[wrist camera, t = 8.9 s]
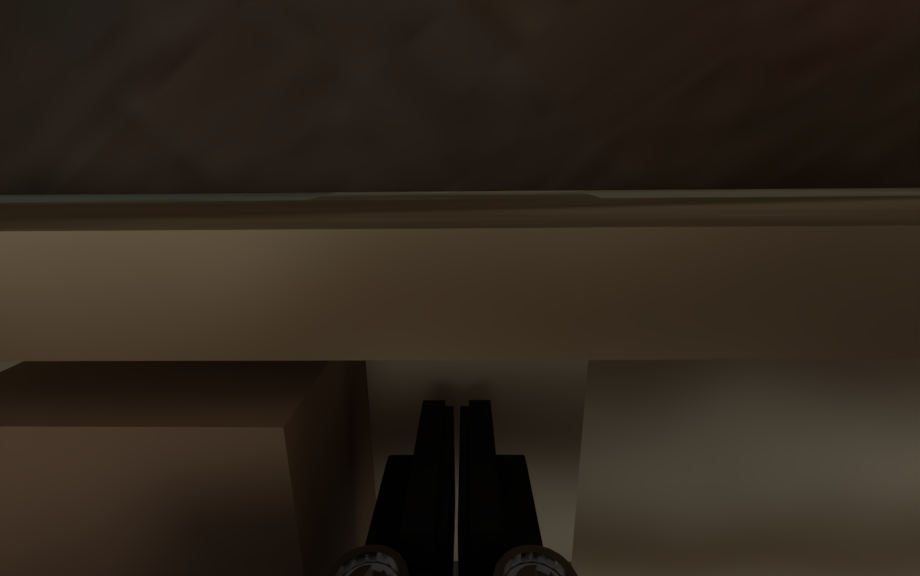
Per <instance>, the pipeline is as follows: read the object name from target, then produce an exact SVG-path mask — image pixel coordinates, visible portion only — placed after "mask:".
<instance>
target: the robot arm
mask: <svg viewBox="0 0 920 576" xmlns="http://www.w3.org/2000/svg"><path fill="white" fill-rule="evenodd" d="M454 535H455V453H454V407H453V406H445V400H423V403H422V409H421V414H420V420H419V426H418V431H417V437H416V443H415V448H414V454H413V455H389V456H388V459H387V462H386V466H385V470H384V474H383V477H382V481H381V485H380V489H379V493H378V497H377V500H376V504H375V508H374V512H373V516H372V520H371V523H370V527H369V531H368V535H367V539H366V543H365V546H361V547H358V548H355V549H353V550H351V551H349V552H347V553H345V554H343V555H342V556H341V557H340V558H339V559H338V560H337V561H336V562H334V563H333V564H332V566H331V567H330V569H329V570H328V572H327V573H326V575H325V576H453V569H454ZM458 576H578V575H577V573H576V572H575V570H574V569H573V567H572V565H571V564H570V563H569V562H568V561H567V560H566V559H565V558H564V557H563V556H562V555H560V554H559V553H557V552H555V551H553V550H551V549H550V548H546V547H543V543H542V538H541V533H540V528H539V523H538V518H537V513H536V508H535V503H534V498H533V493H532V488H531V483H530V478H529V473H528V468H527V463H526V458H525V456H524V455H496V449H495V439H494V429H493V419H492V410H491V401H490V400H469V406H460V441H459V486H458Z"/></svg>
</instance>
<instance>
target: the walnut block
mask: <svg viewBox="0 0 920 576" xmlns="http://www.w3.org/2000/svg"><path fill="white" fill-rule="evenodd" d="M375 504H376V493H375V480H374V466H373V453H372V440H371V426H370V413H369V399H368V386H367V373H366V360H320V361H23V362H21V363H19V364H16V365H14V366H12V367H10V368H8V369H6V370H3V371H1V372H0V576H325V575H326V573H327V572H328V570H329V569H330V567H331V566H332V564H333V563H334V562H336V561H337V560H338V559H339V558H340V557H341V556H342V555H343V554H345V553H347V552H349V551H351V550H353V549H355V548H358V547H361V546H365V543H366V539H367V535H368V531H369V527H370V523H371V520H372V516H373V512H374V508H375Z"/></svg>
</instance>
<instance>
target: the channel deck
mask: <svg viewBox="0 0 920 576" xmlns="http://www.w3.org/2000/svg"><path fill="white" fill-rule="evenodd" d="M320 360H366V373H367V386H368V399H369V413H370V426H371V440H372V453H373V466H374V480H375V493H376V500H377V497H378V493H379V489H380V485H381V481H382V477H383V474H384V470H385V466H386V462H387V459H388V456H389V455H413V454H414V448H415V443H416V437H417V431H418V426H419V420H420V414H421V409H422V403H423V400H445V406H453V407H454V453H455V535H454V561H458V486H459V441H460V406H469V400H490V401H491V410H492V419H493V429H494V439H495V449H496V455H524V456H525V458H526V463H527V468H528V473H529V478H530V483H531V488H532V493H533V498H534V503H535V508H536V513H537V518H538V523H539V528H540V533H541V538H542V543H543V547H546V548H550V549H551V550H553V551H555V552H557V553H559V554H560V555H562V556H563V557H564V558H565V559H566V560H567V561H568V562H569V563H570V564H571V565H572V567H573V569H574V570H575V572H576V573H577V575H578V576H920V188H826V189H698V190H570V191H442V192H313V193H185V194H57V195H0V372H1V371H3V370H6V369H8V368H10V367H12V366H14V365H16V364H19V363H21V362H23V361H320Z"/></svg>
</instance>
